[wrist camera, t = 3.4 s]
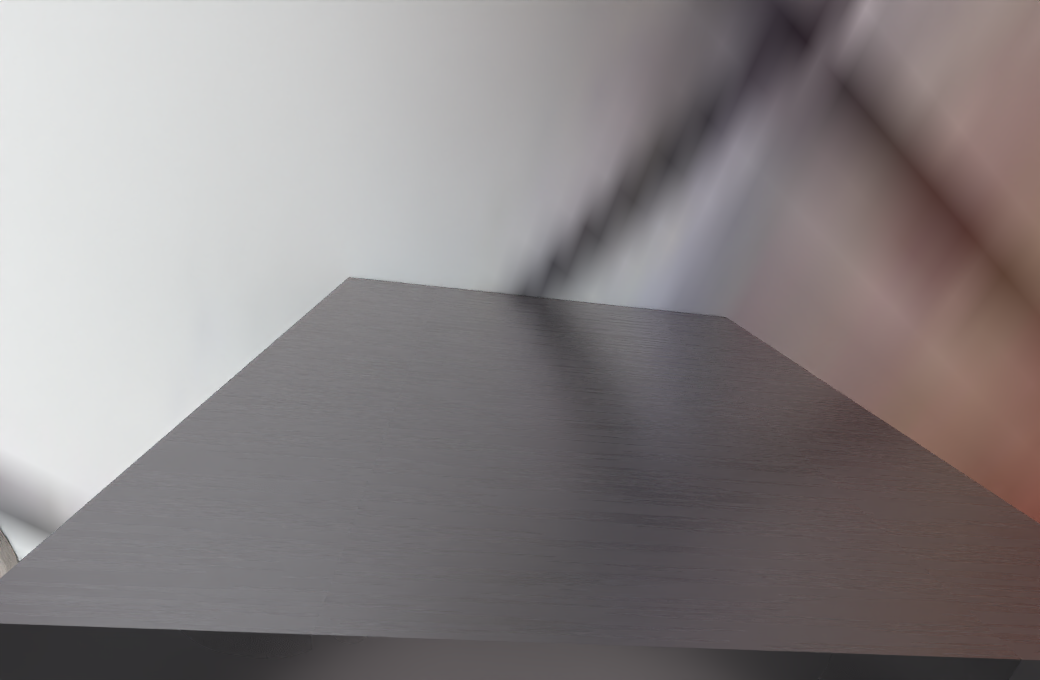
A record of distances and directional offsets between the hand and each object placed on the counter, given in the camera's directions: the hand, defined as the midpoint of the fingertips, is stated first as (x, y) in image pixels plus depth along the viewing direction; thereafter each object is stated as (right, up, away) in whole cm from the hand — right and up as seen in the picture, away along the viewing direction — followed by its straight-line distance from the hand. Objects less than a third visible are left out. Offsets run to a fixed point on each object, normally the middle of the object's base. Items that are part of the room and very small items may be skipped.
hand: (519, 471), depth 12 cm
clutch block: (0, 0, 0) cm, 0 cm away
